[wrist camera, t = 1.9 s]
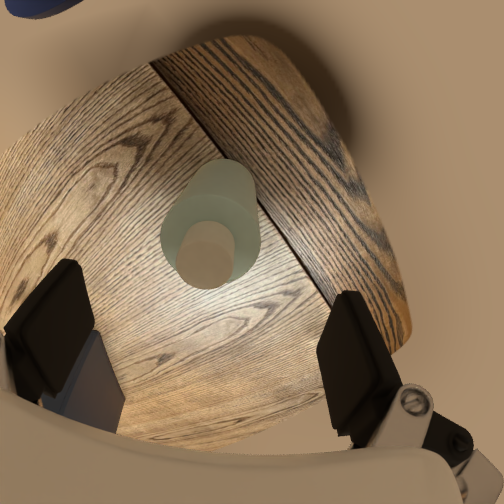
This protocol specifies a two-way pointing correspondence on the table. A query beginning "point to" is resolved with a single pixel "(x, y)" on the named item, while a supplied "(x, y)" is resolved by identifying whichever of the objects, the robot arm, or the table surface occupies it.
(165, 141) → the table surface
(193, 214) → the bottle
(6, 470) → the robot arm
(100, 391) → the carton
